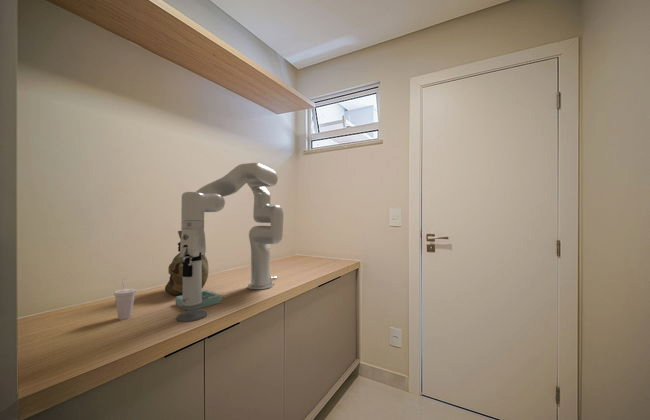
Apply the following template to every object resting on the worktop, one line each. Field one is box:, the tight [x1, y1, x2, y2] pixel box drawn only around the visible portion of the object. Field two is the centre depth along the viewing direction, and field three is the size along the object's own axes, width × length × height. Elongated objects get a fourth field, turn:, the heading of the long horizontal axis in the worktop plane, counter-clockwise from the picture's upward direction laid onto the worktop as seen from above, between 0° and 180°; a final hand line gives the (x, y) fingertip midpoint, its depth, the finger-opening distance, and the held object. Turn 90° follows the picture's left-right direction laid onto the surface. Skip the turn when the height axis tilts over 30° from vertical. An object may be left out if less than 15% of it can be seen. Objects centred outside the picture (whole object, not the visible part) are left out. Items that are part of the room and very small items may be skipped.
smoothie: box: [113, 278, 137, 321], centre depth 94 cm, size 6×6×14 cm
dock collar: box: [175, 289, 222, 311], centre depth 109 cm, size 13×13×4 cm
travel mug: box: [181, 252, 203, 310], centre depth 94 cm, size 6×7×20 cm
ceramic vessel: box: [164, 230, 210, 297], centre depth 127 cm, size 19×21×30 cm
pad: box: [176, 309, 208, 323], centre depth 94 cm, size 10×10×1 cm
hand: (192, 274), depth 95 cm, fingers closed on travel mug, 6 cm apart
